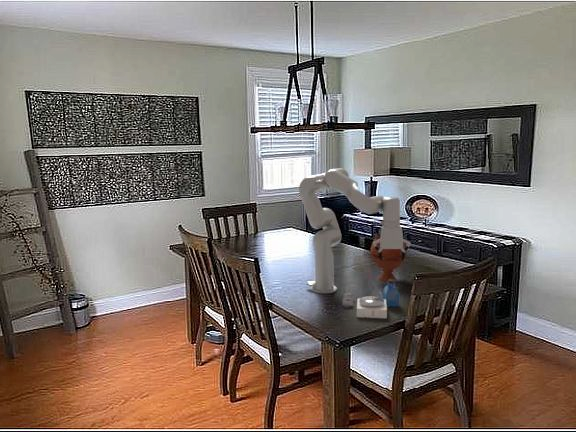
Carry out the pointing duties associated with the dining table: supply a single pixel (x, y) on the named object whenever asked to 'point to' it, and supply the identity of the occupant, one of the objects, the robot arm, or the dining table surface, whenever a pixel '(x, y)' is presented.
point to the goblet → (386, 259)
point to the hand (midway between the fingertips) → (391, 260)
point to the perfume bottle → (391, 294)
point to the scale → (371, 310)
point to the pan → (371, 301)
